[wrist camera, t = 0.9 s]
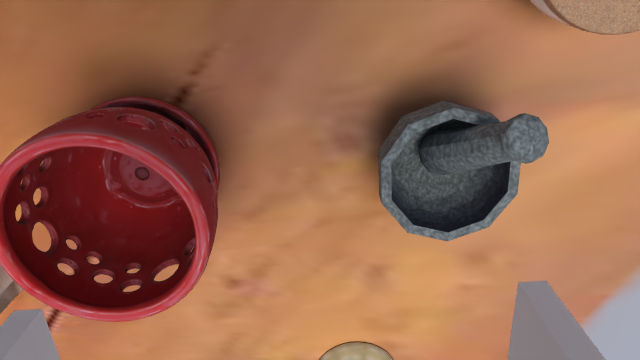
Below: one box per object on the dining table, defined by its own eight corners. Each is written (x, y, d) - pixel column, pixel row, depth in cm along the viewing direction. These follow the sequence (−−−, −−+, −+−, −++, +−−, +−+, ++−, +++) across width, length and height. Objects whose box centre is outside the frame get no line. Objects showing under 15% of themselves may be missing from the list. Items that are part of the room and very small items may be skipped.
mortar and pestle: (436, 217, 41) (482, 306, 30) (345, 164, 39) (360, 239, 28) (523, 109, 38) (611, 166, 27) (428, 45, 36) (482, 78, 25)
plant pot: (92, 236, 42) (14, 331, 31) (55, 86, 36) (-55, 135, 25) (243, 232, 42) (219, 324, 31) (227, 81, 36) (192, 127, 25)
